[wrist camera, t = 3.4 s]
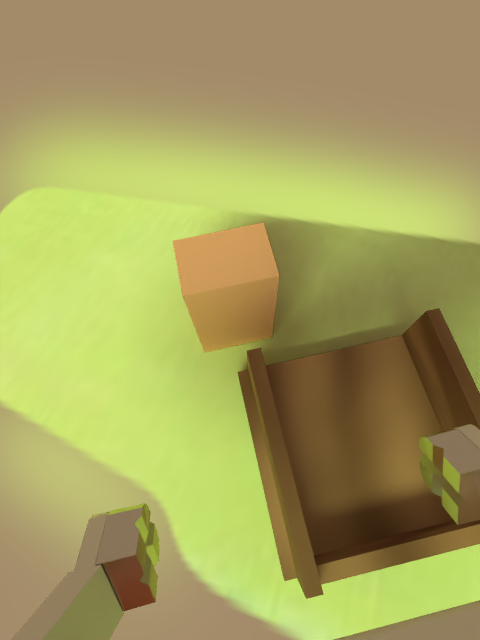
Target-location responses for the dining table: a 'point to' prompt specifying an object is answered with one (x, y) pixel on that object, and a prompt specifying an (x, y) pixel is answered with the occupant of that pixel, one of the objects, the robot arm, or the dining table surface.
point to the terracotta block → (229, 285)
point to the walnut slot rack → (358, 451)
